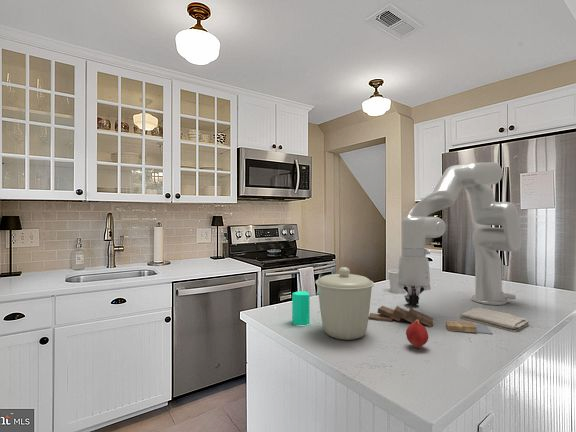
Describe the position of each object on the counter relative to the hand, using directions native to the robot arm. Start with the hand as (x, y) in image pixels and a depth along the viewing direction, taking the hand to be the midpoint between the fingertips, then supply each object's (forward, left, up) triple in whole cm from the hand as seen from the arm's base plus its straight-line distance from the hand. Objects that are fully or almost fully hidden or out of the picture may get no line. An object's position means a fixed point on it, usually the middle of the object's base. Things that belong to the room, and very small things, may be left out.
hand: (413, 305), depth 109 cm
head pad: (-19, 0, -6) cm, 20 cm away
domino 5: (-18, +2, -5) cm, 19 cm away
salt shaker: (0, -21, -6) cm, 22 cm away
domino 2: (+4, -1, -5) cm, 6 cm away
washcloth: (-26, -10, -7) cm, 28 cm away
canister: (+21, +18, -6) cm, 28 cm away
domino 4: (-6, +1, -5) cm, 8 cm away
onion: (0, +22, -6) cm, 23 cm away
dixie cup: (+6, -44, -6) cm, 45 cm away
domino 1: (+7, 0, -6) cm, 9 cm away
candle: (+37, +13, -6) cm, 40 cm away
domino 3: (-1, 0, -5) cm, 5 cm away
